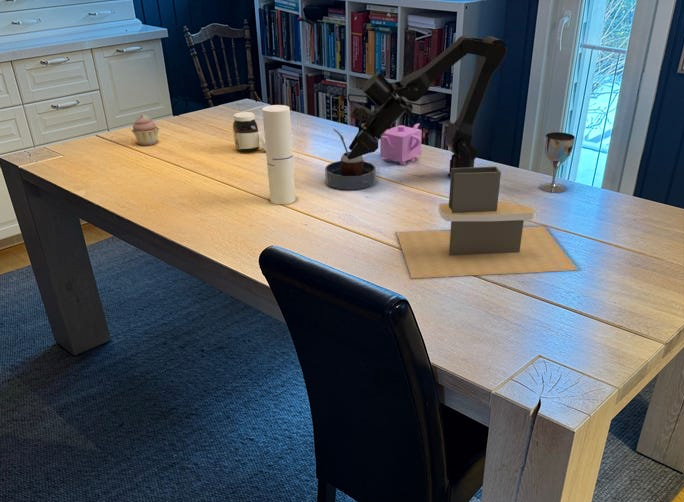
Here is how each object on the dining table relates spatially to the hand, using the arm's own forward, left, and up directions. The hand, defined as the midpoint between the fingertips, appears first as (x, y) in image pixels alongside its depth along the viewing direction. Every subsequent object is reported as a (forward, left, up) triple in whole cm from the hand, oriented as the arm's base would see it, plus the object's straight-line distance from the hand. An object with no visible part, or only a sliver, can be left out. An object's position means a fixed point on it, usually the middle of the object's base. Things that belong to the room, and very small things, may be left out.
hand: (349, 153), depth 198 cm
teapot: (-1, -26, -9) cm, 28 cm away
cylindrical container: (+6, +23, -9) cm, 25 cm away
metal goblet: (-52, -30, -9) cm, 61 cm away
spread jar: (+46, -6, -9) cm, 47 cm away
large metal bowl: (0, 0, -8) cm, 8 cm away
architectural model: (-56, +20, -9) cm, 60 cm away
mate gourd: (0, 0, -8) cm, 8 cm away
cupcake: (+82, +10, -9) cm, 83 cm away
